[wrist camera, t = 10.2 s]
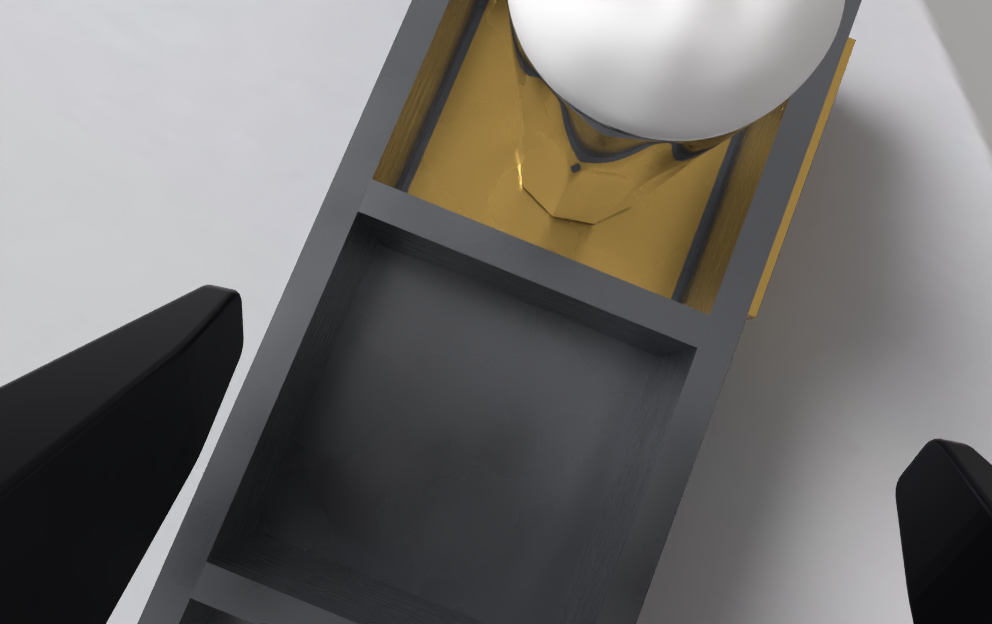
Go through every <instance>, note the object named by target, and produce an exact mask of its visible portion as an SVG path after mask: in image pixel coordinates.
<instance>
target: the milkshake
mask: <svg viewBox="0 0 992 624" xmlns="http://www.w3.org/2000/svg"><path fill="white" fill-rule="evenodd" d="M507 4H508V15H509V25H510V36H511V46H512V56H513V65H514V72H515V94H516V141H517V150H518V156H519V163H520V170H521V177H522V185H523V187H524V188H525V189H526V190H527V191H528V192H529V193H530V194H531V195H532V196H533V197H534V198H535V199H536V200H537V201H538V202H539V203H540V204H541V205H542V206H543V207H544V208H545V209H546V210H547V211H548V212H549V214H550V215H551V216H553V217H558V218H564V219H569V220H575V221H580V222H585V223H591V224H595V223H597V222H600V221H602V220H604V219H606V218H608V217H610V216H612V215H614V214H616V213H618V212H621V211H623V210H625V209H627V208H629V207H631V206H633V205H635V204H636V203H637V202H639V201H640V200H642V199H643V198H644V197H646V196H647V195H648V194H650V193H651V192H652V191H654V190H655V189H656V188H658V187H659V186H661V185H662V184H663V183H665V182H666V181H667V180H669V179H670V178H671V177H673V176H674V175H675V174H677V173H678V172H680V171H681V170H682V169H684V168H685V167H686V166H688V165H689V164H690V163H692V162H693V161H694V160H696V159H697V158H698V157H700V156H702V155H703V154H705V153H707V152H708V151H710V150H711V149H713V148H715V147H716V146H718V145H719V144H721V143H722V142H724V141H726V140H727V139H729V138H730V137H732V136H733V135H735V134H737V133H738V132H740V131H741V130H743V129H744V128H746V127H748V126H749V125H751V124H752V123H754V122H755V121H757V120H758V119H760V118H761V117H763V116H764V115H766V114H768V113H769V112H771V111H772V110H774V109H775V108H776V107H778V106H779V105H780V104H782V103H783V102H784V101H785V100H786V99H787V98H789V97H790V96H791V95H792V94H793V93H794V92H795V91H796V90H797V89H798V88H799V87H800V86H801V85H802V84H803V83H804V82H805V81H806V80H807V79H808V77H809V76H810V75H811V74H812V73H813V71H814V70H815V69H816V68H817V66H818V65H819V64H820V62H821V61H822V59H823V58H824V56H825V55H826V53H827V51H828V50H829V48H830V46H831V44H832V42H833V40H834V38H835V36H836V33H837V31H838V28H839V25H840V22H841V18H842V14H843V10H844V4H845V0H507Z"/></svg>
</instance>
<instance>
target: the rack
mask: <svg viewBox="0 0 992 624" xmlns="http://www.w3.org/2000/svg"><path fill="white" fill-rule="evenodd" d="M860 3H861V0H845V4H844V10H843V14H842V18H841V22H840V25H839V28H838V31H837V33H836V36H835V38H834V40H833V42H832V44H831V46H830V48H829V50H828V51H827V53H826V55H825V56H824V58H823V59H822V61H821V62H820V64H819V65H818V66H817V68H816V69H815V70H814V71H813V73H812V74H811V75H810V76H809V77H808V79H807V80H806V81H805V82H804V83H803V84H802V85H801V86H800V87H799V88H798V89H797V90H796V91H795V92H794V93H793V94H792V95H791V96H790V97H789V98H787V99H786V100H785V101H784V102H783V103H782V104H780V105H779V106H778V107H776V108H775V109H774V110H772V111H771V112H769V113H768V114H766V115H764V116H763V117H761V118H760V119H758V120H757V121H755V122H754V123H752V124H751V125H749V126H748V127H746V128H744V129H743V130H741V131H740V132H738V133H737V134H735V135H733V136H732V137H730V138H729V139H727V140H726V141H724V142H722V143H721V144H719V145H718V146H716V147H715V148H713V149H711V150H710V151H708V152H707V153H705V154H703V155H702V156H700V157H698V158H697V159H696V160H694V161H693V162H692V163H690V164H689V165H688V166H686V167H685V168H684V169H682V170H681V171H680V172H678V173H677V174H675V175H674V176H673V177H671V178H670V179H669V180H667V181H666V182H665V183H663V184H662V185H661V186H659V187H658V188H656V189H655V190H654V191H652V192H651V193H650V194H648V195H647V196H646V197H644V198H643V199H642V200H640V201H639V202H637V203H636V204H635V205H633V206H631V207H629V208H627V209H625V210H623V211H621V212H618V213H616V214H614V215H612V216H610V217H608V218H606V219H604V220H602V221H600V222H597V223H595V224H591V223H585V222H580V221H575V220H569V219H564V218H558V217H553V216H551V215H550V214H549V212H548V211H547V210H546V209H545V208H544V207H543V206H542V205H541V204H540V203H539V202H538V201H537V200H536V199H535V198H534V197H533V196H532V195H531V194H530V193H529V192H528V191H527V190H526V189H525V188H524V187H523V185H522V177H521V170H520V163H519V156H518V150H517V141H516V94H515V72H514V65H513V56H512V46H511V36H510V25H509V15H508V4H507V0H412V2H411V4H410V6H409V9H408V11H407V13H406V15H405V18H404V20H403V22H402V25H401V27H400V29H399V31H398V34H397V36H396V38H395V40H394V43H393V45H392V47H391V49H390V52H389V54H388V56H387V59H386V61H385V63H384V65H383V68H382V70H381V72H380V74H379V77H378V79H377V81H376V84H375V86H374V88H373V90H372V93H371V95H370V97H369V99H368V102H367V104H366V106H365V109H364V111H363V113H362V115H361V118H360V120H359V122H358V124H357V127H356V129H355V131H354V133H353V136H352V138H351V140H350V143H349V145H348V147H347V149H346V152H345V154H344V156H343V158H342V161H341V163H340V165H339V168H338V170H337V172H336V174H335V177H334V179H333V181H332V183H331V186H330V188H329V190H328V193H327V195H326V197H325V199H324V202H323V204H322V206H321V208H320V211H319V213H318V215H317V218H316V220H315V222H314V224H313V227H312V229H311V231H310V233H309V236H308V238H307V240H306V242H305V245H304V247H303V249H302V252H301V254H300V256H299V258H298V261H297V263H296V265H295V267H294V270H293V272H292V274H291V277H290V279H289V281H288V283H287V286H286V288H285V290H284V292H283V295H282V297H281V299H280V302H279V304H278V306H277V308H276V311H275V313H274V315H273V317H272V320H271V322H270V324H269V327H268V329H267V331H266V333H265V336H264V338H263V340H262V342H261V345H260V347H259V349H258V351H257V354H256V356H255V358H254V361H253V363H252V365H251V367H250V370H249V372H248V374H247V376H246V379H245V381H244V383H243V386H242V388H241V390H240V392H239V395H238V397H237V399H236V401H235V404H234V406H233V408H232V411H231V413H230V415H229V417H228V420H227V422H226V424H225V426H224V429H223V431H222V433H221V436H220V438H219V440H218V442H217V445H216V447H215V449H214V451H213V454H212V456H211V458H210V460H209V463H208V465H207V467H206V470H205V472H204V474H203V476H202V479H201V481H200V483H199V485H198V488H197V490H196V492H195V495H194V497H193V499H192V501H191V504H190V506H189V508H188V510H187V513H186V515H185V517H184V520H183V522H182V524H181V526H180V529H179V531H178V533H177V535H176V538H175V540H174V542H173V545H172V547H171V549H170V551H169V554H168V556H167V558H166V560H165V563H164V565H163V567H162V569H161V572H160V574H159V576H158V579H157V581H156V583H155V585H154V588H153V590H152V592H151V594H150V597H149V599H148V601H147V604H146V606H145V608H144V610H143V613H142V615H141V617H140V619H139V622H138V624H636V622H637V619H638V616H639V613H640V611H641V608H642V605H643V602H644V599H645V597H646V594H647V591H648V588H649V586H650V583H651V580H652V577H653V575H654V572H655V569H656V566H657V564H658V561H659V558H660V555H661V553H662V550H663V547H664V544H665V541H666V539H667V536H668V533H669V530H670V528H671V525H672V522H673V519H674V517H675V514H676V511H677V508H678V506H679V503H680V500H681V497H682V495H683V492H684V489H685V486H686V484H687V481H688V478H689V475H690V472H691V470H692V467H693V464H694V461H695V459H696V456H697V453H698V450H699V448H700V445H701V442H702V439H703V437H704V434H705V431H706V428H707V426H708V423H709V420H710V417H711V414H712V412H713V409H714V406H715V403H716V401H717V398H718V395H719V392H720V390H721V387H722V384H723V381H724V379H725V376H726V373H727V370H728V368H729V365H730V362H731V359H732V357H733V354H734V351H735V348H736V345H737V343H738V340H739V337H740V334H741V332H742V329H743V326H744V323H745V321H746V320H747V319H751V318H755V317H756V315H757V313H758V310H759V307H760V304H761V302H762V299H763V296H764V293H765V290H766V288H767V285H768V282H769V279H770V277H771V274H772V271H773V268H774V265H775V263H776V260H777V257H778V254H779V252H780V249H781V246H782V243H783V241H784V238H785V235H786V232H787V229H788V227H789V224H790V221H791V218H792V216H793V213H794V210H795V207H796V205H797V202H798V199H799V196H800V193H801V191H802V188H803V185H804V182H805V180H806V177H807V174H808V171H809V168H810V166H811V163H812V160H813V157H814V155H815V152H816V149H817V146H818V144H819V141H820V138H821V135H822V132H823V130H824V127H825V124H826V121H827V119H828V116H829V113H830V110H831V107H832V105H833V102H834V99H835V96H836V94H837V91H838V88H839V85H840V83H841V80H842V77H843V74H844V71H845V69H846V66H847V63H848V60H849V58H850V55H851V52H852V49H853V46H854V44H855V41H856V40H854V39H852V38H849V37H848V36H849V34H850V31H851V28H852V25H853V22H854V20H855V17H856V14H857V11H858V9H859V6H860Z"/></svg>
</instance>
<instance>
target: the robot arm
mask: <svg viewBox="0 0 992 624" xmlns="http://www.w3.org/2000/svg"><path fill="white" fill-rule="evenodd" d="M242 348H243V319H242V301H241V297H240V294H239V293H238V292H237V291H236V290H233V289H228V288H223V287H219V286H214V285H205V286H202V287H200V288H198V289H196V290H194V291H192V292H190V293H188V294H186V295H184V296H182V297H180V298H178V299H176V300H174V301H172V302H170V303H168V304H166V305H164V306H162V307H160V308H158V309H156V310H154V311H152V312H150V313H148V314H146V315H144V316H142V317H140V318H138V319H136V320H134V321H132V322H130V323H128V324H126V325H124V326H122V327H120V328H118V329H116V330H114V331H112V332H110V333H108V334H106V335H104V336H102V337H100V338H98V339H96V340H94V341H92V342H90V343H88V344H86V345H84V346H82V347H80V348H78V349H76V350H74V351H72V352H70V353H68V354H66V355H64V356H62V357H60V358H58V359H56V360H54V361H52V362H50V363H48V364H46V365H44V366H42V367H40V368H38V369H36V370H34V371H32V372H30V373H28V374H26V375H24V376H22V377H20V378H18V379H16V380H14V381H12V382H10V383H8V384H6V385H4V386H2V387H0V624H106V623H107V621H108V619H109V617H110V615H111V614H112V612H113V610H114V608H115V607H116V605H117V603H118V601H119V599H120V598H121V596H122V594H123V592H124V590H125V589H126V587H127V585H128V583H129V582H130V580H131V578H132V576H133V574H134V573H135V571H136V569H137V567H138V565H139V564H140V562H141V560H142V558H143V557H144V555H145V553H146V551H147V549H148V548H149V546H150V544H151V542H152V540H153V539H154V537H155V535H156V533H157V532H158V530H159V528H160V526H161V524H162V523H163V521H164V519H165V517H166V516H167V514H168V512H169V510H170V508H171V507H172V505H173V503H174V501H175V499H176V498H177V496H178V494H179V492H180V491H181V489H182V487H183V485H184V483H185V482H186V480H187V478H188V476H189V474H190V473H191V471H192V469H193V467H194V465H195V463H196V461H197V459H198V457H199V455H200V453H201V451H202V448H203V446H204V444H205V442H206V439H207V437H208V434H209V432H210V429H211V427H212V425H213V422H214V420H215V417H216V415H217V412H218V410H219V408H220V405H221V403H222V400H223V398H224V395H225V393H226V391H227V388H228V386H229V383H230V381H231V378H232V376H233V373H234V371H235V369H236V366H237V364H238V361H239V359H240V356H241V353H242ZM896 504H897V512H898V520H899V528H900V536H901V544H902V552H903V560H904V568H905V576H906V584H907V591H908V597H909V603H910V608H911V613H912V618H913V623H914V624H992V465H991V464H990V463H989V462H988V461H987V460H985V459H984V458H983V457H982V456H981V455H980V454H979V453H977V452H976V451H975V450H974V449H973V448H971V447H970V446H968V445H966V444H963V443H958V442H954V441H949V440H944V439H933V440H931V441H929V442H928V443H927V444H926V445H925V446H924V447H923V448H922V450H921V451H920V452H919V453H918V455H917V456H916V457H915V458H914V460H913V461H912V462H911V463H910V465H909V466H908V467H907V468H906V470H905V471H904V472H903V473H902V475H901V476H900V478H899V480H898V482H897V486H896Z"/></svg>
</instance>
